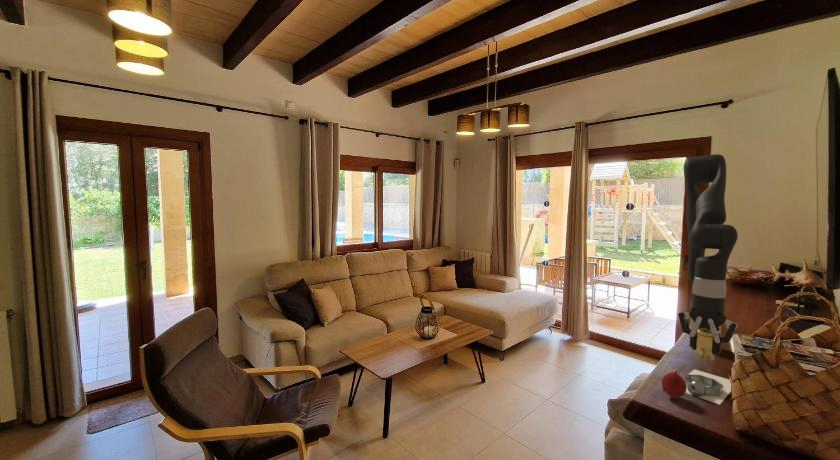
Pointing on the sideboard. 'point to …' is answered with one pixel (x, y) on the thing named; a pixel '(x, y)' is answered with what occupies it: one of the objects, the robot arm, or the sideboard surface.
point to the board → (721, 380)
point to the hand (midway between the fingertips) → (704, 351)
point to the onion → (674, 384)
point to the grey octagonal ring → (698, 388)
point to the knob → (704, 344)
